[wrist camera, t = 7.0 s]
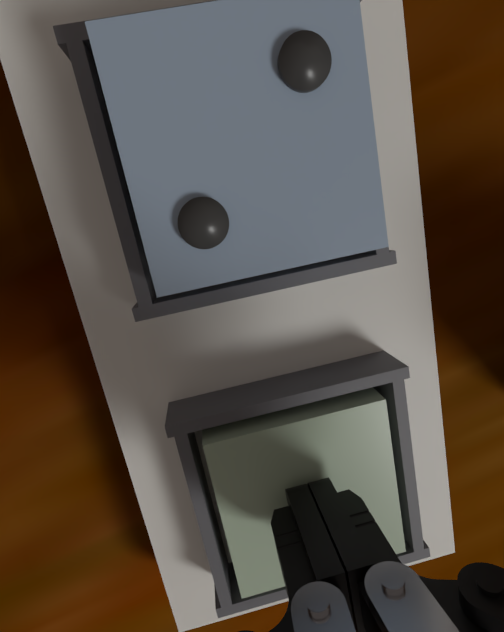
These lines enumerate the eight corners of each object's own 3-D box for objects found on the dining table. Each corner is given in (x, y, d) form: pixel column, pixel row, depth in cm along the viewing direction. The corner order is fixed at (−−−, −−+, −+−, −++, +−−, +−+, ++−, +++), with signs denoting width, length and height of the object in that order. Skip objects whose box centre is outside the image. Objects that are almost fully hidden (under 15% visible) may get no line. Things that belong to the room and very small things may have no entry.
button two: (328, 22, 11) (360, -28, 9) (358, 243, 12) (392, 246, 10) (105, 60, 10) (81, 17, 8) (163, 286, 12) (155, 299, 10)
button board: (305, -439, 12) (373, -853, 8) (417, 505, 20) (483, 588, 16) (-110, -412, 11) (-328, -868, 7) (181, 571, 19) (177, 681, 14)
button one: (361, 376, 15) (388, 401, 13) (381, 512, 16) (408, 555, 14) (201, 416, 14) (202, 449, 12) (236, 553, 16) (242, 603, 14)
